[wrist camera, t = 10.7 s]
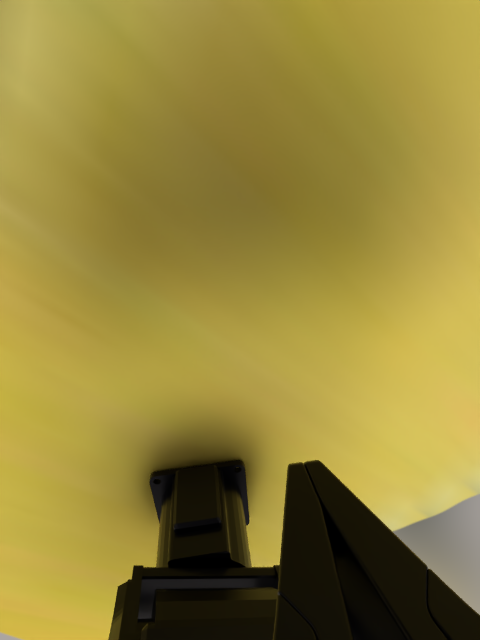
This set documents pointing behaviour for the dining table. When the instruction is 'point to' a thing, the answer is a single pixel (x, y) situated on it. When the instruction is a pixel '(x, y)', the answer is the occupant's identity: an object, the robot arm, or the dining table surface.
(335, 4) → the dining table surface
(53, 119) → the dining table surface
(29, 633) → the dining table surface
